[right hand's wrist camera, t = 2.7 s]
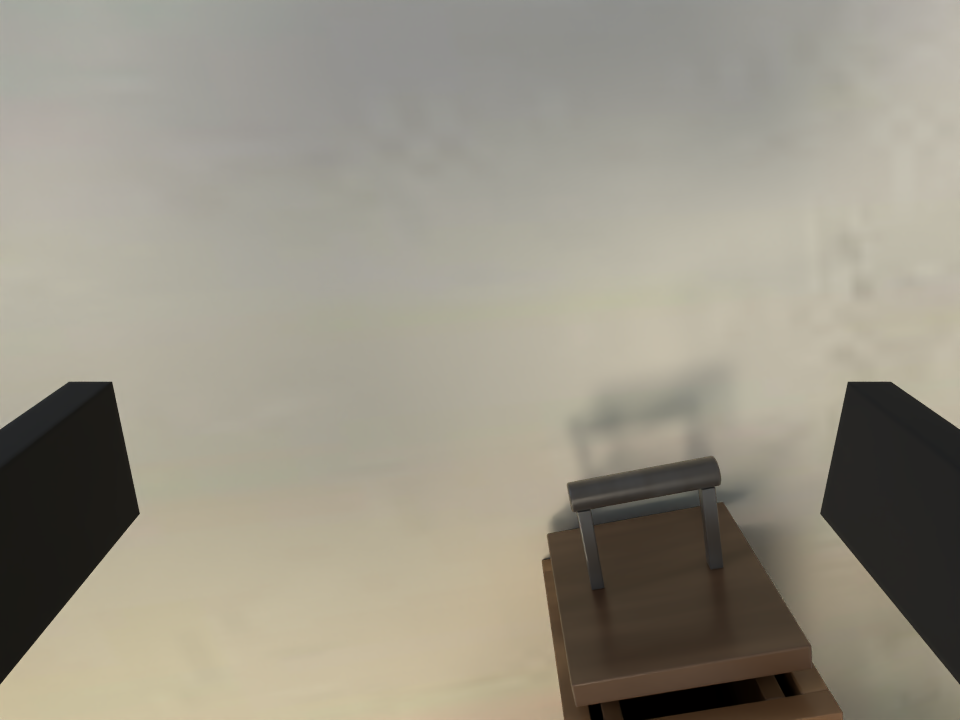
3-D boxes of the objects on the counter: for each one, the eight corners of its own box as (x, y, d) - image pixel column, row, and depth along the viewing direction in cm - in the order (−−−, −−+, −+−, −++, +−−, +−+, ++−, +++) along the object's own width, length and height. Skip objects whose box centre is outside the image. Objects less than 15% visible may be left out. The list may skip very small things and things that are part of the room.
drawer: (527, 441, 34) (546, 570, 25) (713, 405, 33) (806, 524, 24) (590, 744, 41) (624, 932, 32) (745, 719, 41) (824, 904, 31)
